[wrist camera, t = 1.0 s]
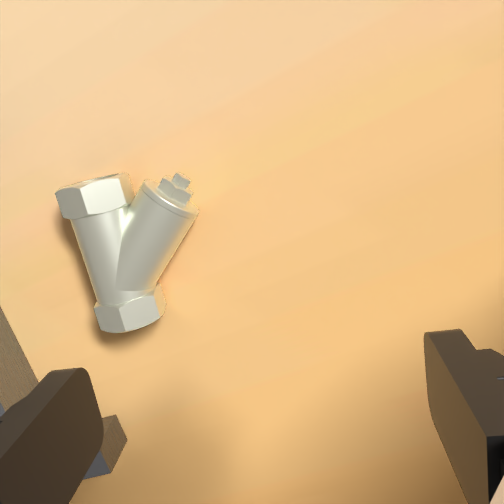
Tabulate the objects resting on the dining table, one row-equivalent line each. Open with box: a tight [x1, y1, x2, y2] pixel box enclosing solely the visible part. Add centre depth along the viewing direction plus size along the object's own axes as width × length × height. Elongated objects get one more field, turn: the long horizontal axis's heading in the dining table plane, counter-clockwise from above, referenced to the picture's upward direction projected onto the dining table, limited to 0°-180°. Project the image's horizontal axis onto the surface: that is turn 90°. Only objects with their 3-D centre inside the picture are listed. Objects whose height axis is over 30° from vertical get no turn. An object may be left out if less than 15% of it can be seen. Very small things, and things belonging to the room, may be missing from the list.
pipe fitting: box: [55, 172, 199, 333], centre depth 26 cm, size 8×4×7 cm
